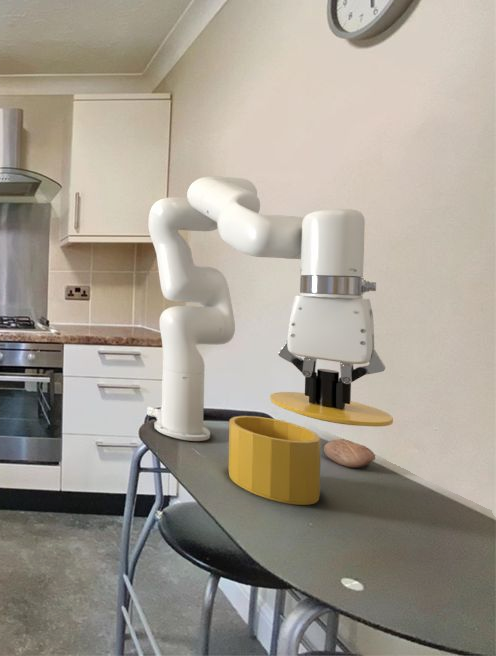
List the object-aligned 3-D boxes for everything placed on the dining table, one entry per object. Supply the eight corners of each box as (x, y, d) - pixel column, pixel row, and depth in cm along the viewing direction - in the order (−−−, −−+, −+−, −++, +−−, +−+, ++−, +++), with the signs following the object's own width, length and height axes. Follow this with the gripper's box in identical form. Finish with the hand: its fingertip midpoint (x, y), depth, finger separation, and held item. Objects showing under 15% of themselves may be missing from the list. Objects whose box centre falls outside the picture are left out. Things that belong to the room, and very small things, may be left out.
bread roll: (334, 450, 92) (312, 445, 89) (353, 432, 90) (331, 425, 87) (367, 480, 85) (344, 475, 83) (389, 460, 83) (366, 454, 80)
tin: (218, 481, 75) (219, 425, 76) (241, 461, 84) (242, 411, 85) (310, 514, 65) (311, 449, 65) (325, 488, 74) (326, 431, 74)
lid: (258, 409, 64) (260, 367, 64) (282, 393, 73) (283, 357, 73) (388, 439, 53) (390, 388, 53) (396, 417, 62) (397, 374, 63)
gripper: (405, 291, 60) (402, 414, 60) (274, 286, 72) (271, 388, 72) (402, 291, 55) (399, 425, 55) (263, 285, 67) (259, 395, 67)
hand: (326, 403), depth 63 cm, fingers closed on lid, 2 cm apart
